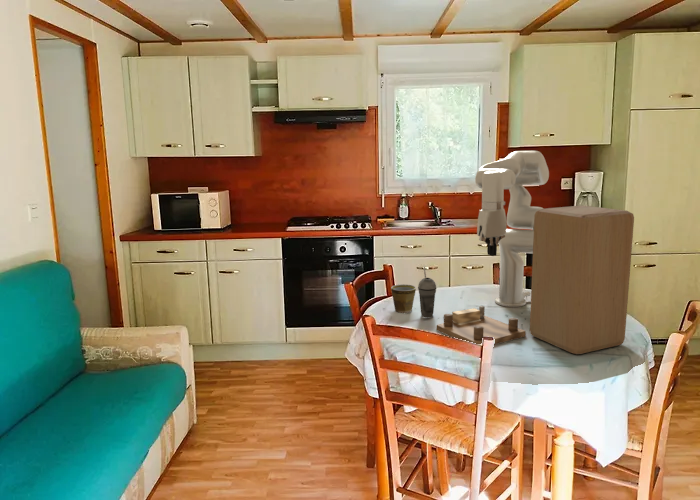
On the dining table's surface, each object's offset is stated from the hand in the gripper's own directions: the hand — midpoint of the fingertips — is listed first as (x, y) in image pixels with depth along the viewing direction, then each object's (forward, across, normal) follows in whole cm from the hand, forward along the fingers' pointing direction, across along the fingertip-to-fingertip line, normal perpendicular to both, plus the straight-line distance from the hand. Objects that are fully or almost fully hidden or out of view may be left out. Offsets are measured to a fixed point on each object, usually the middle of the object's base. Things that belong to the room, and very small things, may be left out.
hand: (491, 255), depth 200 cm
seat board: (+26, +11, +8) cm, 29 cm away
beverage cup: (+26, +18, -18) cm, 36 cm away
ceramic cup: (+27, +23, -29) cm, 46 cm away
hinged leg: (+24, +11, -1) cm, 26 cm away
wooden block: (+26, -13, +29) cm, 41 cm away
